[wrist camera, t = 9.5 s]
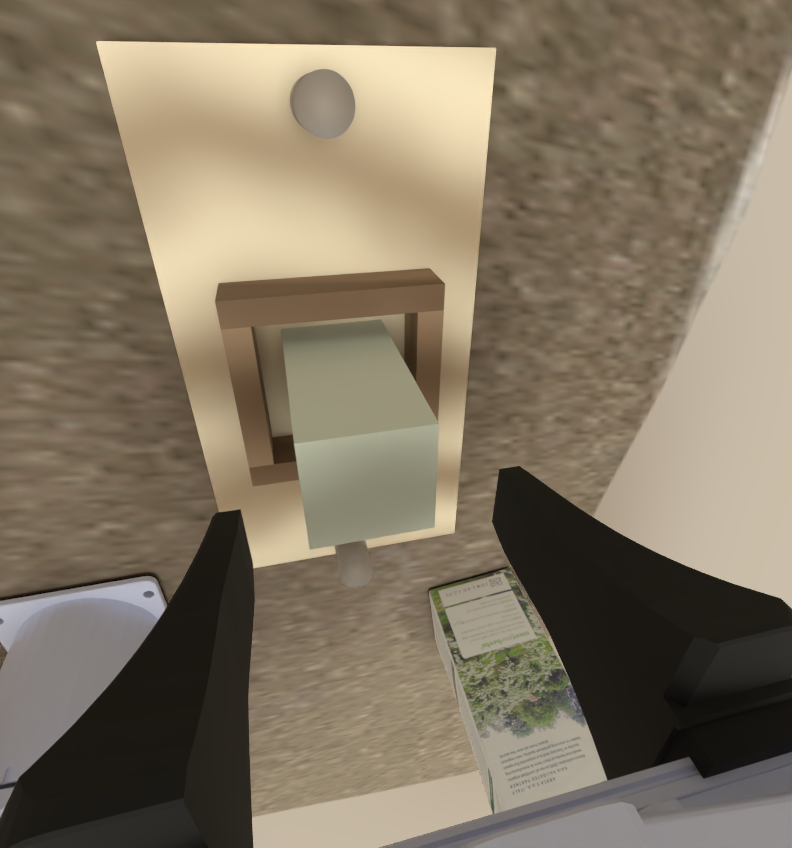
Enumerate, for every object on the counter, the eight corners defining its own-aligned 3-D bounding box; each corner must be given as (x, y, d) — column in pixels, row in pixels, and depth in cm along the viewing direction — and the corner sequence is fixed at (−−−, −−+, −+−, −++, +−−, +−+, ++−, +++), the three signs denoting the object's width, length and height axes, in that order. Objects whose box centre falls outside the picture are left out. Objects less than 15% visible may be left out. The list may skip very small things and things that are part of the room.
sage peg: (383, 403, 23) (434, 527, 16) (293, 414, 22) (309, 549, 15) (380, 319, 21) (439, 423, 14) (280, 328, 20) (294, 444, 13)
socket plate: (448, 520, 29) (473, 574, 26) (235, 557, 27) (232, 620, 24) (484, 50, 17) (538, 39, 14) (104, 44, 15) (62, 30, 12)
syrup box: (433, 639, 35) (522, 912, 24) (425, 585, 32) (526, 873, 20) (509, 616, 36) (633, 871, 24) (510, 562, 33) (654, 826, 21)
